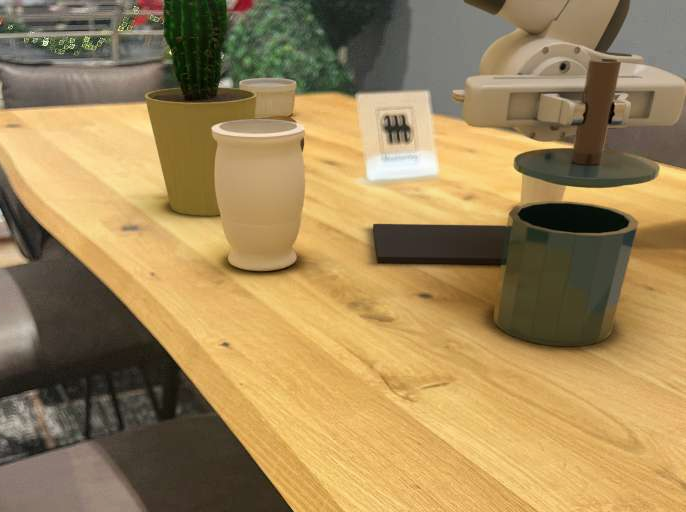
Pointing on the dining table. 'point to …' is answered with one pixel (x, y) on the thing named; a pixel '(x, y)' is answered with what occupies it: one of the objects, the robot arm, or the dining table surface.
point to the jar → (260, 190)
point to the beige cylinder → (540, 190)
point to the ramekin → (271, 95)
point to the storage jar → (563, 272)
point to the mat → (439, 243)
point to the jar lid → (590, 143)
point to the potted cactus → (194, 104)
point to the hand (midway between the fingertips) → (599, 114)
